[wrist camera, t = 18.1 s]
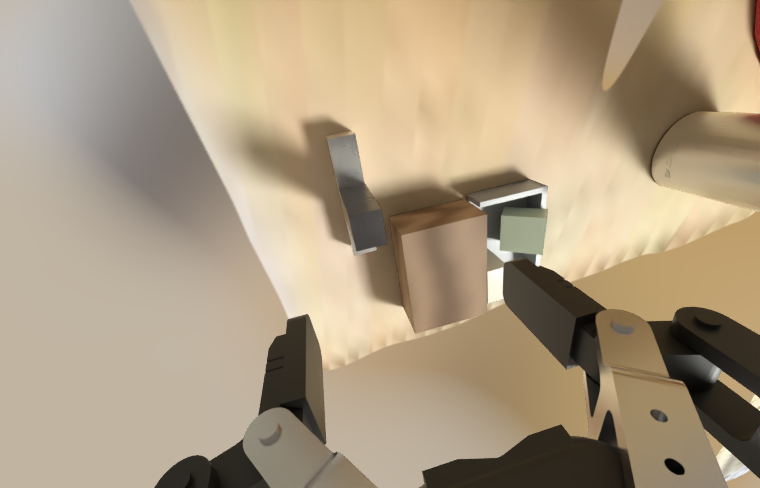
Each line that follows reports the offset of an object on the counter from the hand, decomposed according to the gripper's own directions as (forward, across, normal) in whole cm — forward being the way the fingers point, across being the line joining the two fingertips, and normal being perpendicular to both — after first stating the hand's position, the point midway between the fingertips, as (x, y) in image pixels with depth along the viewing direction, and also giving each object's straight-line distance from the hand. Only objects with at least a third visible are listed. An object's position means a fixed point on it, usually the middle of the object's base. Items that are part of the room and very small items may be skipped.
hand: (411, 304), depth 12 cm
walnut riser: (+21, -8, +12) cm, 26 cm away
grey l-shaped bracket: (+22, 0, +2) cm, 22 cm away
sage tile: (+18, -17, +10) cm, 26 cm away
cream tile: (+19, -12, +15) cm, 27 cm away
